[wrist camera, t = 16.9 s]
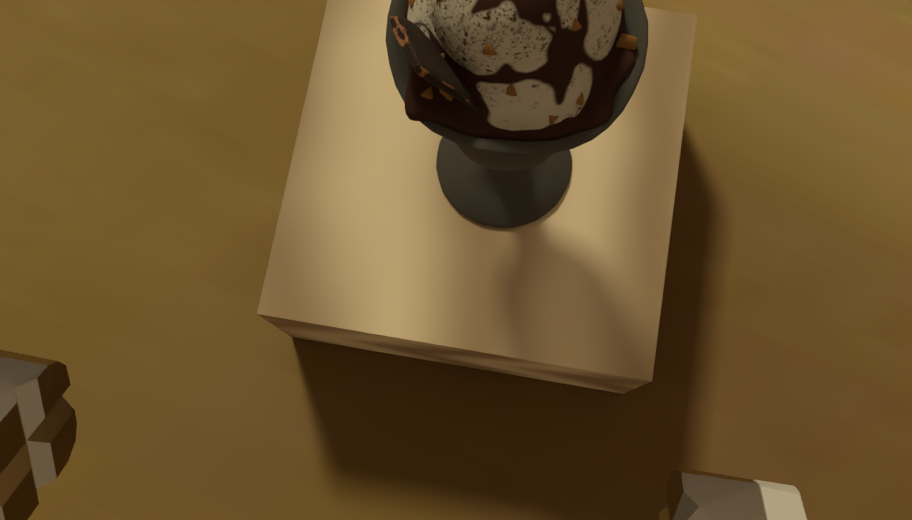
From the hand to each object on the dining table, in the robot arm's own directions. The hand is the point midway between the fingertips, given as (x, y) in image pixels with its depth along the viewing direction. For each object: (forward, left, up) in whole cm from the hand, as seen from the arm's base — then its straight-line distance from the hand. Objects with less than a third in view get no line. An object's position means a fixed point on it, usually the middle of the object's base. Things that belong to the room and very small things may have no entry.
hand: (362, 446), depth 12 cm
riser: (0, +11, -24) cm, 27 cm away
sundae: (+1, +11, -19) cm, 22 cm away
